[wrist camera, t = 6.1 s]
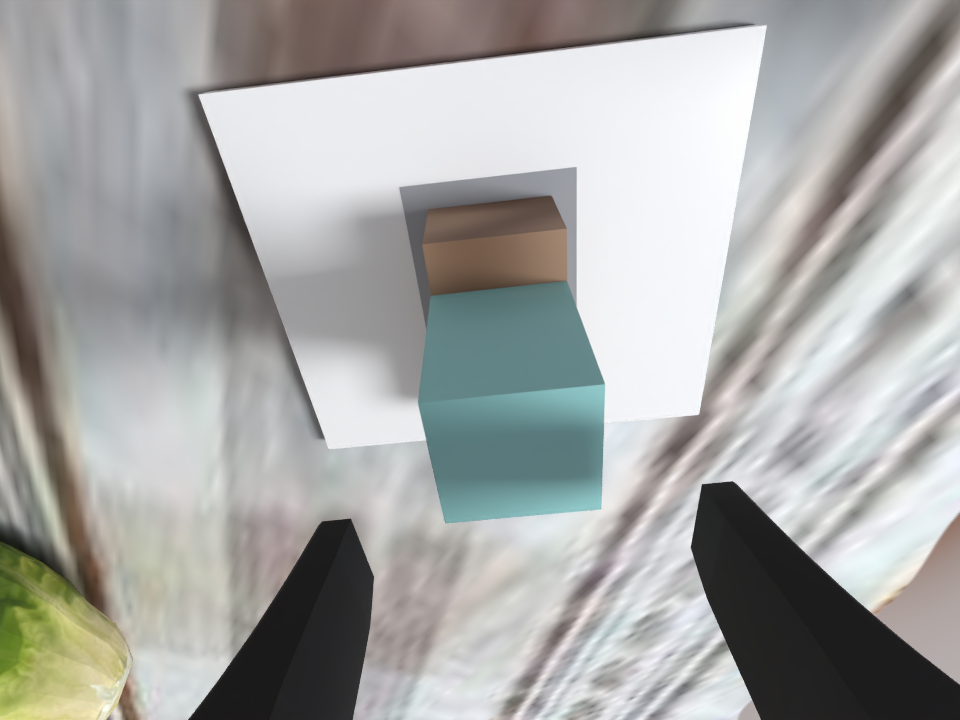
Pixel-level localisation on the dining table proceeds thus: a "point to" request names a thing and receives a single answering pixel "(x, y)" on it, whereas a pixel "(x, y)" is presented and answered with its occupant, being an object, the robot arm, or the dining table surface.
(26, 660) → the lettuce
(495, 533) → the dining table surface
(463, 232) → the base brick
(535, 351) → the teal block
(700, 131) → the plate
